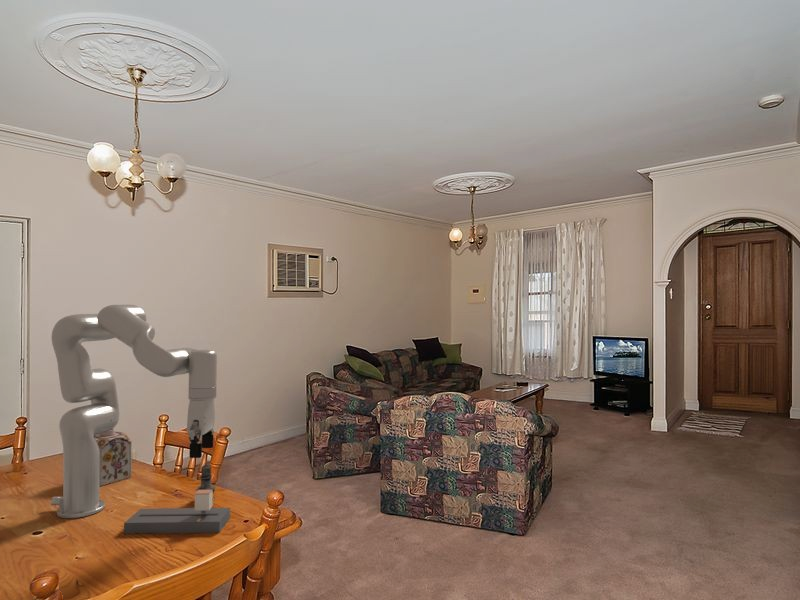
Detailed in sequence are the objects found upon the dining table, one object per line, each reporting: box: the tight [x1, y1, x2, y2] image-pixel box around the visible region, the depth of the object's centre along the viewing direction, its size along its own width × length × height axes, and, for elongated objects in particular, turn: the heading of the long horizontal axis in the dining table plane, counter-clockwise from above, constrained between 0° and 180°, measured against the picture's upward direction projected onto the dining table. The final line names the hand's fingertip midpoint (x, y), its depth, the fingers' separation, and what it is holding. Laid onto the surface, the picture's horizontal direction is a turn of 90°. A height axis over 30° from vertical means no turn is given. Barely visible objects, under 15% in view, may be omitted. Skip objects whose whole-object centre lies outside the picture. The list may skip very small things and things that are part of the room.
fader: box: [194, 490, 214, 515], centre depth 150 cm, size 4×3×6 cm
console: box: [123, 507, 231, 535], centre depth 150 cm, size 26×10×3 cm, turn 92°
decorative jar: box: [94, 428, 133, 487], centre depth 189 cm, size 12×12×18 cm
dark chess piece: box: [196, 462, 216, 494], centre depth 170 cm, size 6×6×12 cm
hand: (201, 452), depth 151 cm, fingers open, 9 cm apart
